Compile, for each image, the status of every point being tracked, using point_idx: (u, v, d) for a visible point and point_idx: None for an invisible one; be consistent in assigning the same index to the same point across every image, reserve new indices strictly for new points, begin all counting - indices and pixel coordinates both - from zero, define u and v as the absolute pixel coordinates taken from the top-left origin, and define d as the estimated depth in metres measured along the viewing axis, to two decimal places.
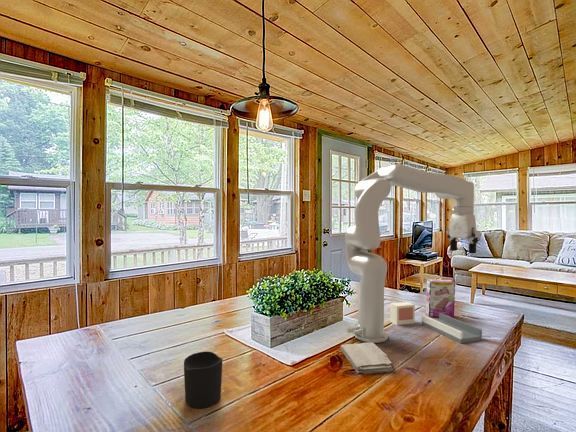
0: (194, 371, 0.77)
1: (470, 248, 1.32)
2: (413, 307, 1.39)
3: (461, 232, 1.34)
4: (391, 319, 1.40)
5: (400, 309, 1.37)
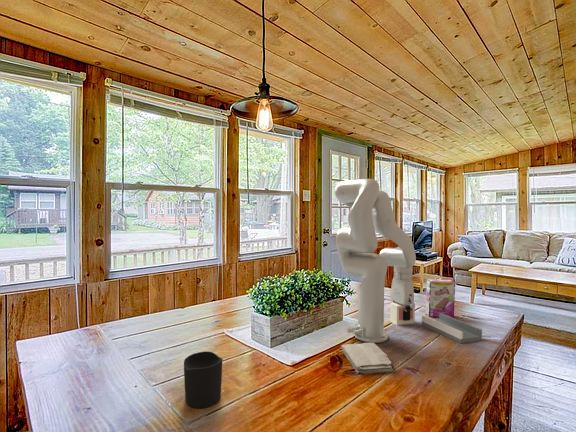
0: (194, 371, 0.77)
1: (404, 316, 1.37)
2: None
3: (400, 298, 1.37)
4: (391, 319, 1.40)
5: (400, 309, 1.37)
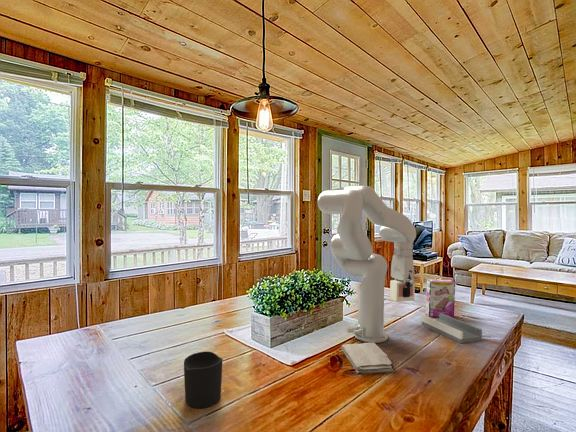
0: (194, 371, 0.77)
1: (404, 292, 1.36)
2: (413, 284, 1.38)
3: (400, 274, 1.37)
4: (391, 296, 1.39)
5: (400, 285, 1.36)
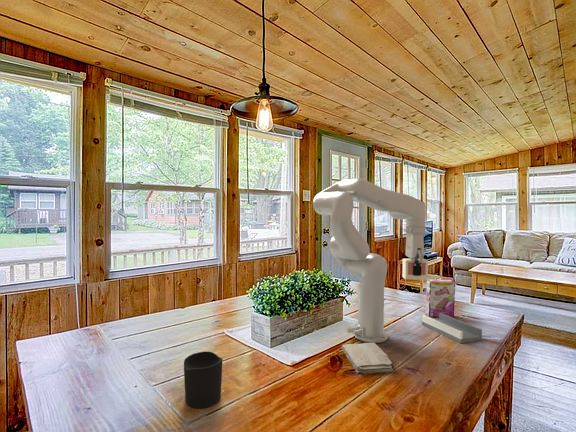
0: (194, 371, 0.77)
1: (414, 270, 1.34)
2: (426, 262, 1.34)
3: (409, 252, 1.35)
4: (403, 274, 1.39)
5: (409, 263, 1.35)
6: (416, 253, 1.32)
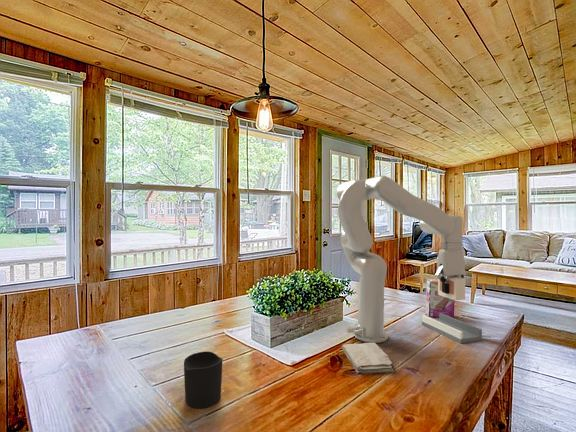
0: (194, 371, 0.77)
1: None
2: (454, 281, 1.24)
3: None
4: None
5: None
6: None
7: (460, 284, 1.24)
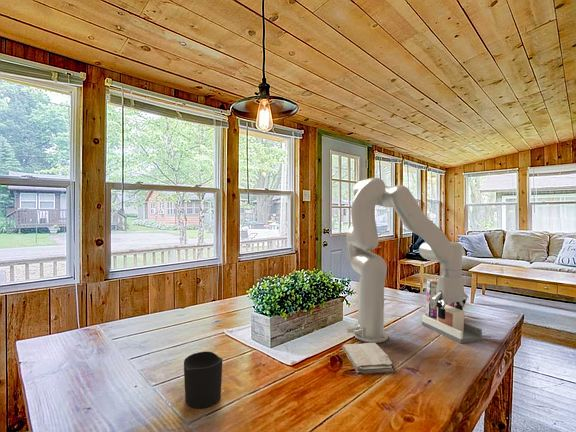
0: (194, 371, 0.77)
1: None
2: (453, 314, 1.25)
3: None
4: None
5: None
6: None
7: (459, 316, 1.25)
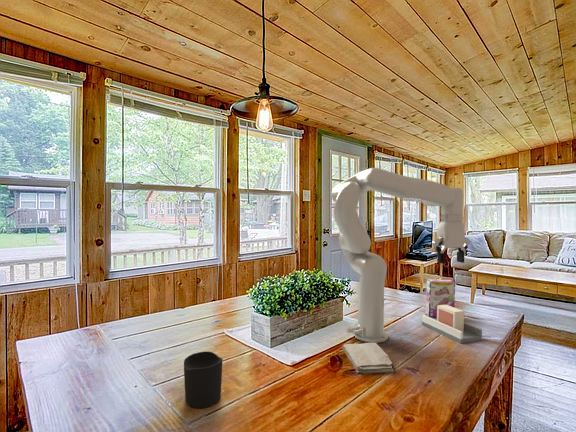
0: (194, 371, 0.77)
1: None
2: (453, 314, 1.25)
3: None
4: None
5: (439, 310, 1.31)
6: None
7: (459, 316, 1.25)
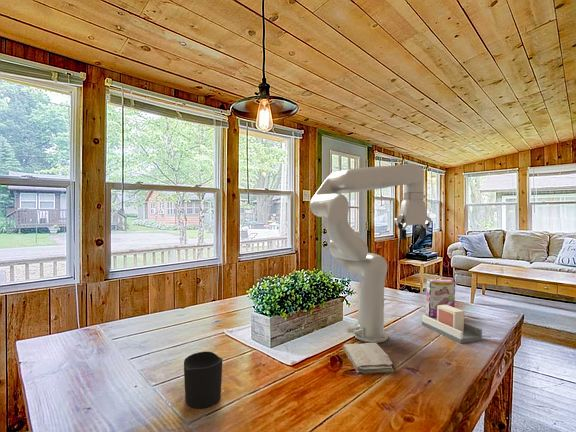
0: (194, 371, 0.77)
1: None
2: (453, 314, 1.25)
3: None
4: None
5: (439, 310, 1.31)
6: None
7: (459, 316, 1.25)
